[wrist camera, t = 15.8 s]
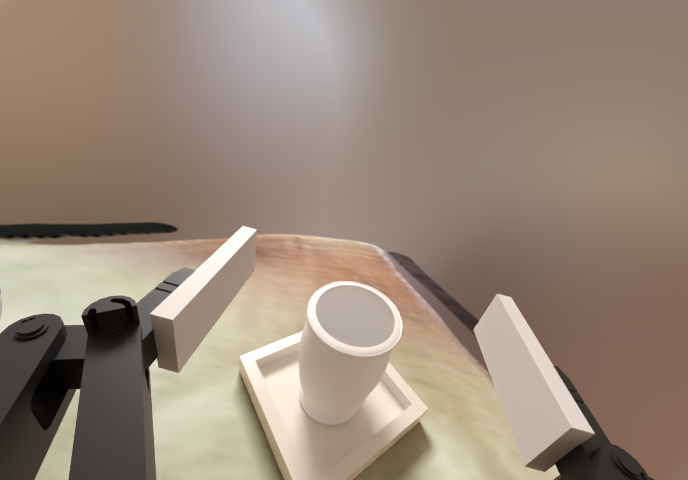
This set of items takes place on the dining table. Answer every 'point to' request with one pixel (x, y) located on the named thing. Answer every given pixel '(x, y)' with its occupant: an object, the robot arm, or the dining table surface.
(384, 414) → the white square tray
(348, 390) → the jar
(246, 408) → the dining table surface
